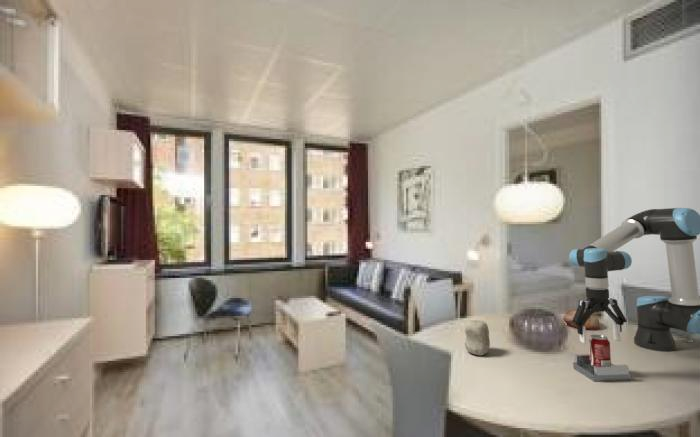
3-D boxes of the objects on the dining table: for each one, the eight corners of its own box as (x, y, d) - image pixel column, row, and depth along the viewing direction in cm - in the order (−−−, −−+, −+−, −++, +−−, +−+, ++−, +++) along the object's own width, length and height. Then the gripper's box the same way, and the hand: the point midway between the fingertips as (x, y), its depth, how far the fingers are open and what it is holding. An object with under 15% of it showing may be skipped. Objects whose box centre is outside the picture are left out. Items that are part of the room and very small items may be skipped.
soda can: (614, 371, 136) (613, 339, 136) (595, 370, 137) (593, 339, 137) (605, 364, 142) (604, 334, 142) (587, 363, 144) (585, 333, 144)
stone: (480, 359, 159) (478, 325, 159) (460, 352, 167) (458, 320, 168) (494, 352, 165) (493, 320, 165) (474, 346, 174) (473, 316, 174)
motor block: (606, 366, 146) (605, 353, 146) (631, 380, 133) (630, 366, 133) (572, 367, 146) (572, 354, 146) (594, 382, 133) (594, 367, 133)
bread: (591, 334, 188) (590, 316, 188) (555, 325, 206) (554, 308, 206) (608, 327, 196) (607, 309, 195) (572, 319, 213) (571, 302, 213)
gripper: (620, 284, 144) (624, 336, 144) (559, 287, 144) (563, 339, 143) (635, 287, 136) (639, 342, 136) (571, 291, 136) (575, 346, 136)
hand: (600, 341), depth 140 cm, fingers open, 13 cm apart
